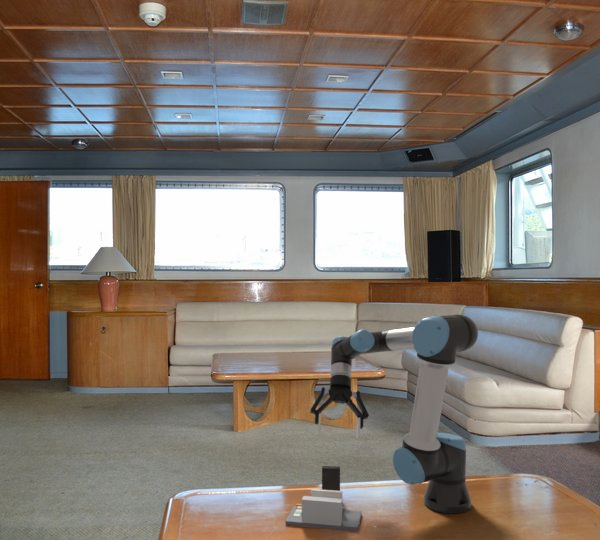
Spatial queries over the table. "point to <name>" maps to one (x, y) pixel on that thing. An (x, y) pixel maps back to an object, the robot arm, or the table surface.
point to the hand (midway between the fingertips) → (338, 435)
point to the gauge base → (346, 518)
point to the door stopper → (330, 478)
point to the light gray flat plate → (324, 494)
